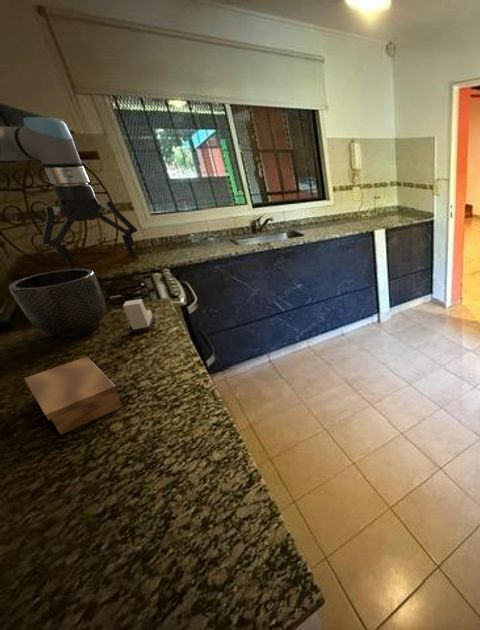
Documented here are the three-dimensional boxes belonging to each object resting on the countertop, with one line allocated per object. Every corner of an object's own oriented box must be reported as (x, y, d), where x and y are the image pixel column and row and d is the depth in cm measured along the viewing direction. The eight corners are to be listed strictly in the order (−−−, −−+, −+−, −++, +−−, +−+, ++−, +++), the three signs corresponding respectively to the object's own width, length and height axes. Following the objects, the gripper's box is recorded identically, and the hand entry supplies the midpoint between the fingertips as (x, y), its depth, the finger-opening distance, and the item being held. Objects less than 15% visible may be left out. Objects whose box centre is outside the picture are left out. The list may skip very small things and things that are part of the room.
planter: (117, 313, 130) (96, 265, 122) (113, 333, 116) (89, 280, 107) (46, 327, 120) (18, 275, 112) (31, 351, 105) (-2, 294, 97)
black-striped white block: (150, 329, 118) (139, 303, 114) (133, 332, 116) (122, 306, 112) (154, 318, 126) (144, 292, 122) (139, 320, 124) (128, 295, 120)
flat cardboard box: (58, 436, 74) (45, 414, 72) (35, 397, 86) (23, 378, 83) (125, 405, 83) (115, 385, 80) (96, 374, 95) (87, 356, 92)
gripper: (3, 189, 80) (46, 275, 89) (132, 182, 97) (157, 254, 107) (0, 187, 84) (42, 269, 93) (125, 180, 102) (150, 250, 111)
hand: (104, 261), depth 100 cm, fingers open, 13 cm apart
